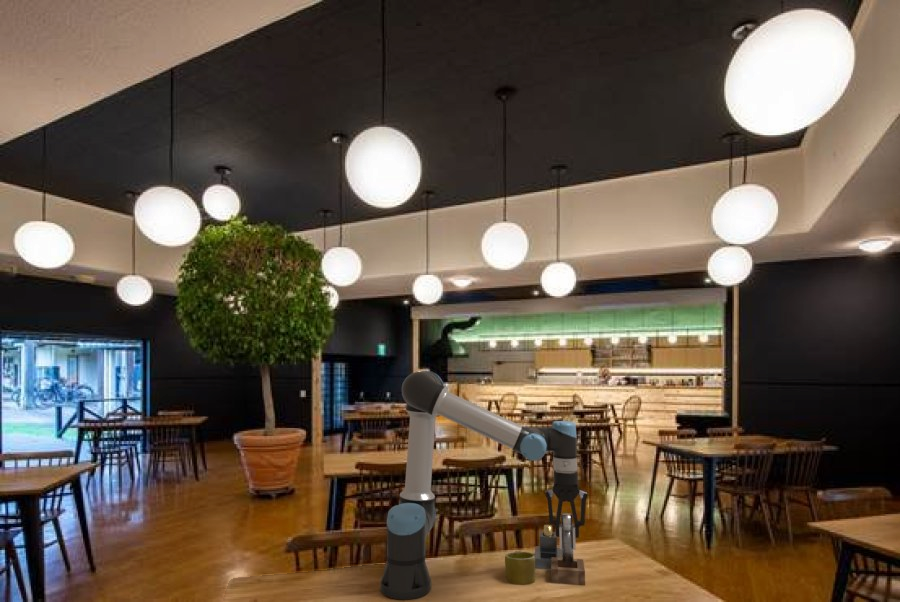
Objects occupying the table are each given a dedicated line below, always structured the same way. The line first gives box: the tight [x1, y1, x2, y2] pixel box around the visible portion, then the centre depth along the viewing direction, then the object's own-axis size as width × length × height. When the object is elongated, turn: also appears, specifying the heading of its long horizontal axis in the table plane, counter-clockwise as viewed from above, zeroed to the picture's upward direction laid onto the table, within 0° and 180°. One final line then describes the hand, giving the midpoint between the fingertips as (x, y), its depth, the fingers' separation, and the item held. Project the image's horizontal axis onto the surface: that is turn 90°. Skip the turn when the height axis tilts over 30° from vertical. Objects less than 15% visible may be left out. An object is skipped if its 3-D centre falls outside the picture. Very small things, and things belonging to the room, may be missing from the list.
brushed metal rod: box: [560, 512, 575, 563], centre depth 168 cm, size 3×3×14 cm
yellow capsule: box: [543, 524, 553, 536], centre depth 183 cm, size 3×3×7 cm
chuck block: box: [534, 530, 562, 571], centre depth 180 cm, size 9×12×9 cm
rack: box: [550, 557, 586, 586], centre depth 167 cm, size 10×10×5 cm
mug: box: [504, 550, 536, 586], centre depth 167 cm, size 12×10×10 cm
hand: (567, 547), depth 168 cm, fingers closed on brushed metal rod, 3 cm apart
